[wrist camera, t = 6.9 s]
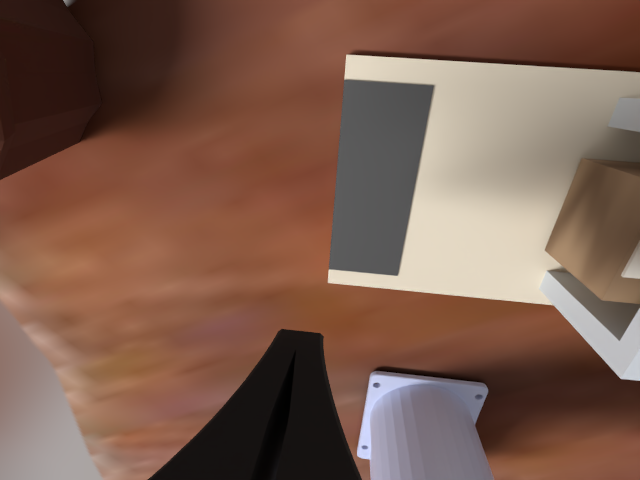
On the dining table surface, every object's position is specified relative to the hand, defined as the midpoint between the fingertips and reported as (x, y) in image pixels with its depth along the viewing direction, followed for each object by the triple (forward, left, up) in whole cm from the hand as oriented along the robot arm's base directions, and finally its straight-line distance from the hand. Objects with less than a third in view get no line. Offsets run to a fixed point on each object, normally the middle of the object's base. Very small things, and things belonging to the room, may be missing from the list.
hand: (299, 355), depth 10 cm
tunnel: (+3, -15, -9) cm, 18 cm away
